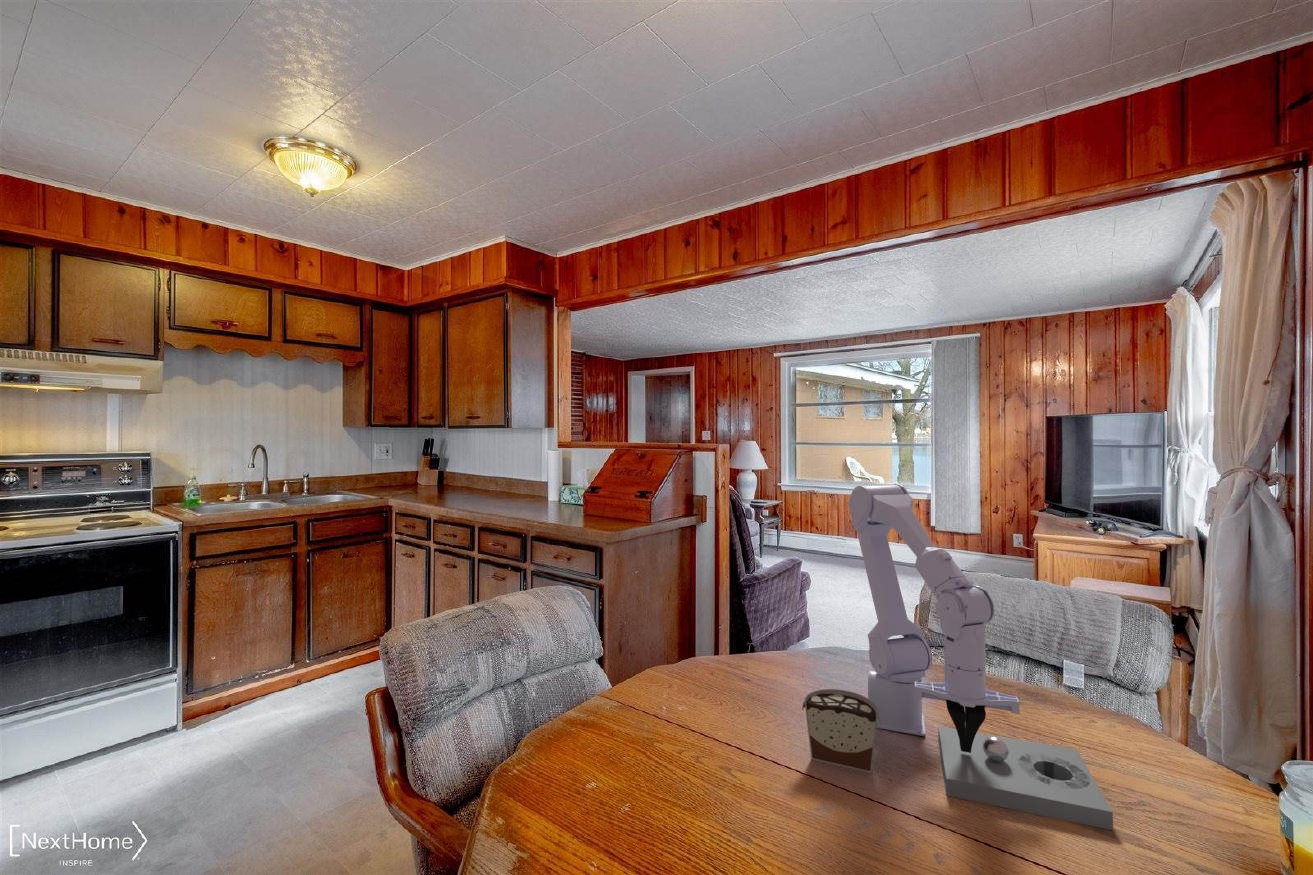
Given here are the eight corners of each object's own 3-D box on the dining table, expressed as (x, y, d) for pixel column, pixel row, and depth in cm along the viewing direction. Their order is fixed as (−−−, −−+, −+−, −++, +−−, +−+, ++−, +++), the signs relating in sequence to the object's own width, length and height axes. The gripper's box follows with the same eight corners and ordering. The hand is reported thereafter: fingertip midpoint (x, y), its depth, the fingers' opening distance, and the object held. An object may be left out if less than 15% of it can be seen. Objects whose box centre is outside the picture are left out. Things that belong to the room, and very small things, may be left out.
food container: (883, 754, 94) (883, 695, 94) (881, 775, 89) (881, 712, 89) (808, 738, 99) (808, 682, 99) (802, 757, 94) (801, 697, 94)
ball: (984, 763, 87) (984, 741, 87) (981, 751, 90) (981, 730, 90) (1010, 768, 86) (1010, 745, 86) (1006, 756, 89) (1006, 734, 89)
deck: (946, 795, 84) (946, 778, 84) (938, 740, 98) (938, 726, 98) (1112, 830, 76) (1112, 812, 76) (1077, 765, 91) (1076, 749, 91)
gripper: (915, 666, 89) (916, 752, 89) (1023, 681, 83) (1024, 773, 83) (913, 650, 95) (914, 730, 95) (1014, 663, 90) (1014, 748, 90)
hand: (965, 748), depth 90 cm, fingers closed
